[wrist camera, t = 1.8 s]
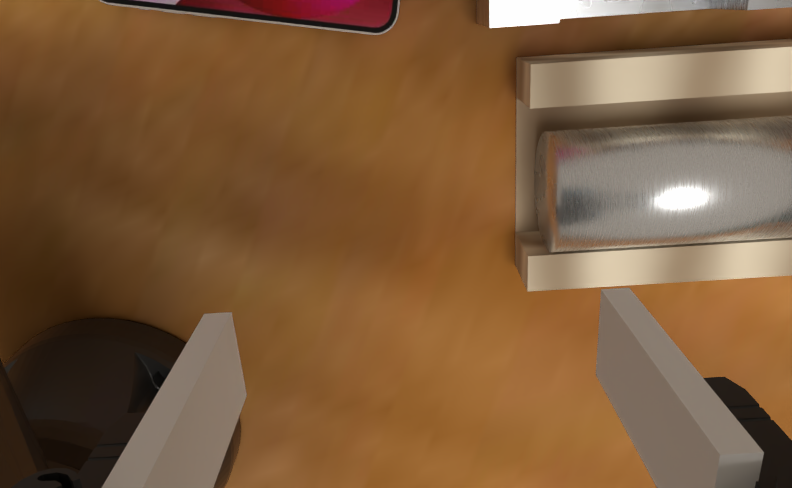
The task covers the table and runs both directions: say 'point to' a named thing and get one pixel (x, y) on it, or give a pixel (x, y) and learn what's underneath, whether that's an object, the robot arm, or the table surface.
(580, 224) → the axle
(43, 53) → the table surface
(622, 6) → the cradle
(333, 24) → the smartphone
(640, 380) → the robot arm
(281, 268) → the table surface
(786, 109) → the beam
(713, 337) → the table surface
